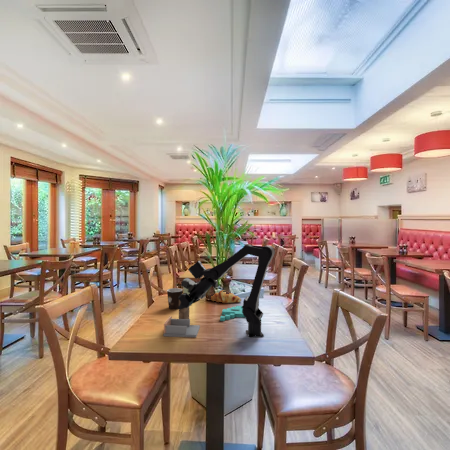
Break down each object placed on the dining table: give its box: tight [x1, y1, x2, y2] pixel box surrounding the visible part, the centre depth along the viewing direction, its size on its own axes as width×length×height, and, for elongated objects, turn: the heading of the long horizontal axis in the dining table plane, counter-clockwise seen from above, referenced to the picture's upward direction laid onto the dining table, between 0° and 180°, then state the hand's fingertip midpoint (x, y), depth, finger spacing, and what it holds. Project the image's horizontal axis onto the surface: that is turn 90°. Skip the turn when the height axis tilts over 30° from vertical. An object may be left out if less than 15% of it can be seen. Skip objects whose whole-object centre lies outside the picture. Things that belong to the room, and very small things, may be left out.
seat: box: [162, 315, 201, 338], centre depth 126 cm, size 14×11×5 cm
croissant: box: [210, 290, 242, 304], centre depth 174 cm, size 21×10×8 cm, turn 79°
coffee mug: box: [166, 287, 184, 311], centre depth 158 cm, size 12×9×10 cm
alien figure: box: [219, 305, 246, 322], centre depth 149 cm, size 20×2×20 cm
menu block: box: [178, 300, 190, 319], centre depth 136 cm, size 3×5×11 cm, turn 160°
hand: (181, 307), depth 136 cm, fingers closed on menu block, 5 cm apart
